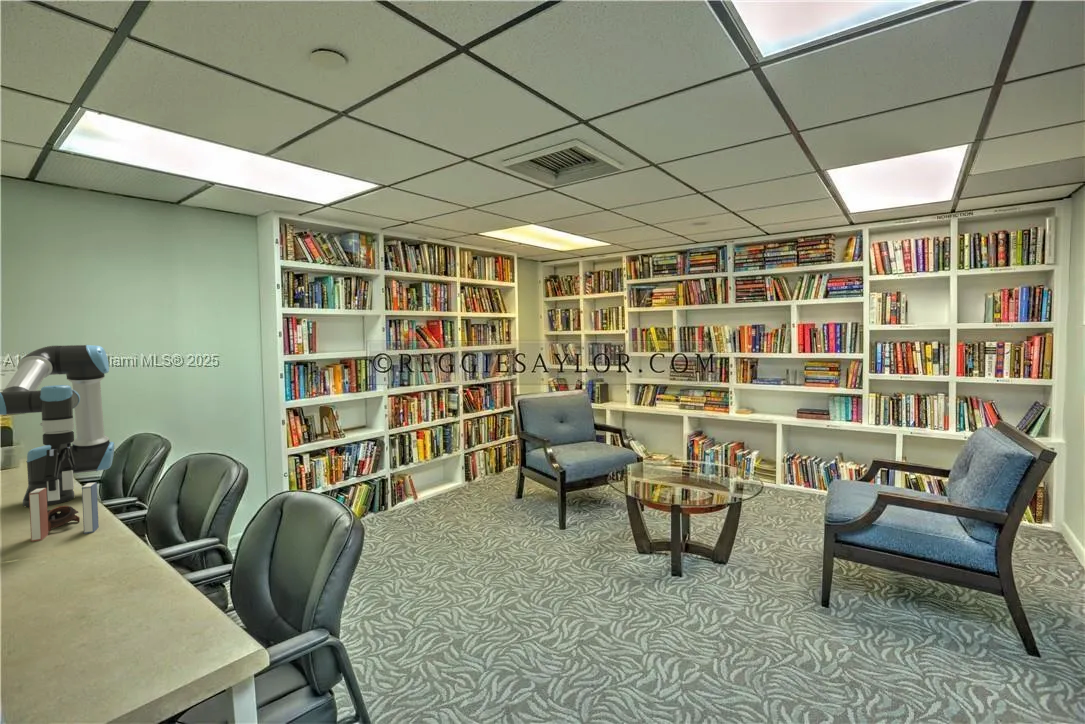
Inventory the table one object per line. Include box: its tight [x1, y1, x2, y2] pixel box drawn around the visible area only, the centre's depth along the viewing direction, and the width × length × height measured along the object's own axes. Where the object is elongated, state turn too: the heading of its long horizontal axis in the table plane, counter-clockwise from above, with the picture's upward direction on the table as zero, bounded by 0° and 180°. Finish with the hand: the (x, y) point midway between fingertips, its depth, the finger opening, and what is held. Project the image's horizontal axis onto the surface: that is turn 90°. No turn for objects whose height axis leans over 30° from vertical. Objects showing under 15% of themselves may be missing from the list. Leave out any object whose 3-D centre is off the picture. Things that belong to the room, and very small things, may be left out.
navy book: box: [81, 481, 100, 535], centre depth 173 cm, size 6×2×16 cm, turn 29°
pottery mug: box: [47, 505, 81, 532], centre depth 177 cm, size 12×9×8 cm
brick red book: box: [29, 488, 49, 542], centre depth 167 cm, size 6×2×16 cm, turn 29°
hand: (61, 494), depth 167 cm, fingers open, 13 cm apart
